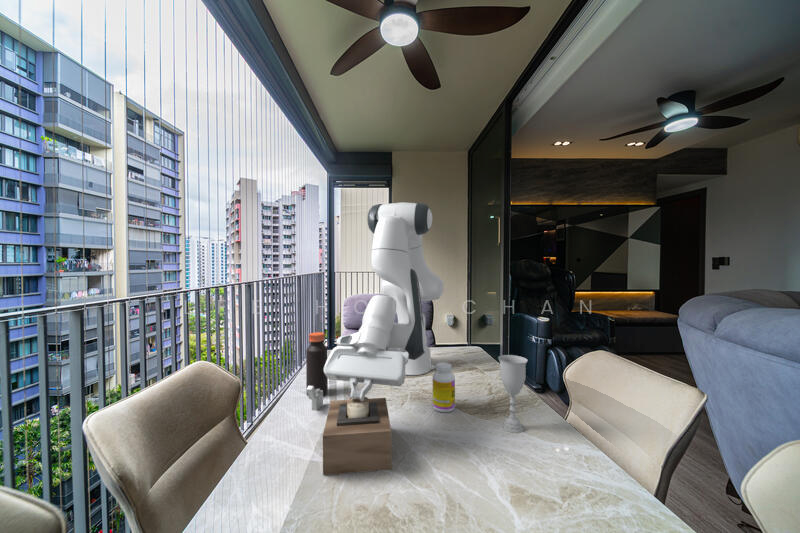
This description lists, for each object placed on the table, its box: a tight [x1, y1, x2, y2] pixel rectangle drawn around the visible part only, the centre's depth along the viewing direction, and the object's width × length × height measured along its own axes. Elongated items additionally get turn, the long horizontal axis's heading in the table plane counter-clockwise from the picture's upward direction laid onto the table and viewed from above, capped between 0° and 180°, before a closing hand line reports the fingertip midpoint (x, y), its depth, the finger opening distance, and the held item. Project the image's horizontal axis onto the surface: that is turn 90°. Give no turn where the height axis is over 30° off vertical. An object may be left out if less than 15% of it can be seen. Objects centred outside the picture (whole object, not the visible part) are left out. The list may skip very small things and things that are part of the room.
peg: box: [346, 396, 370, 418], centre depth 70 cm, size 5×5×8 cm
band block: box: [322, 397, 392, 476], centre depth 70 cm, size 16×14×9 cm
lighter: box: [305, 386, 324, 412], centre depth 90 cm, size 7×2×8 cm, turn 168°
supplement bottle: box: [432, 362, 456, 413], centre depth 90 cm, size 7×7×13 cm
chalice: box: [497, 354, 528, 434], centre depth 79 cm, size 7×7×18 cm
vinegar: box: [305, 331, 329, 397], centre depth 100 cm, size 7×7×20 cm
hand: (356, 399), depth 69 cm, fingers closed, pressing on peg
